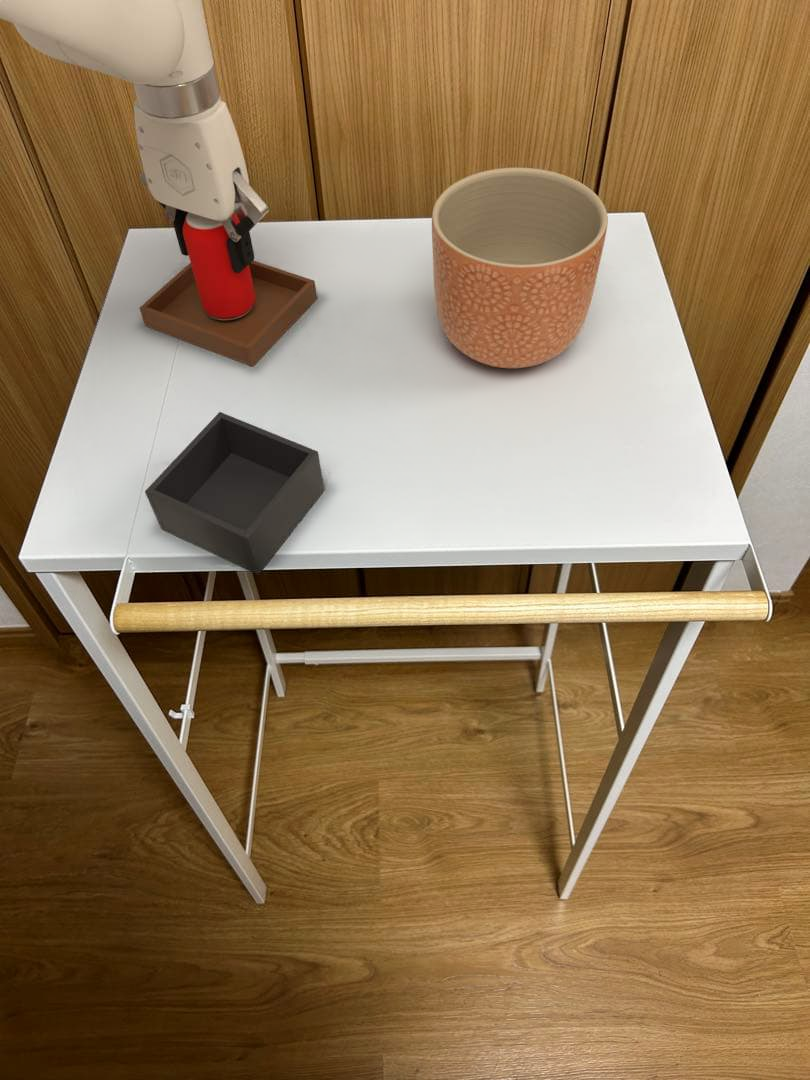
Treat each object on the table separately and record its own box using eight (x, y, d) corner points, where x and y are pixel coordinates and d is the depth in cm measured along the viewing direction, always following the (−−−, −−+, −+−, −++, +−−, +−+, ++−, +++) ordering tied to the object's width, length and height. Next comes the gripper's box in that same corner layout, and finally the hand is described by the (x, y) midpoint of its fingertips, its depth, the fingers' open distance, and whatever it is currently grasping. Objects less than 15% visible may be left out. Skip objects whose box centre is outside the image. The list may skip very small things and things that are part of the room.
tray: (145, 326, 96) (138, 307, 94) (213, 264, 103) (209, 245, 101) (252, 366, 91) (248, 348, 89) (317, 299, 98) (314, 280, 96)
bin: (161, 529, 78) (144, 491, 74) (231, 451, 84) (219, 411, 79) (258, 575, 75) (247, 538, 70) (324, 490, 81) (318, 451, 76)
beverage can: (195, 320, 95) (168, 226, 86) (217, 288, 99) (194, 194, 89) (244, 329, 94) (223, 234, 85) (265, 296, 98) (246, 201, 88)
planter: (582, 291, 97) (603, 167, 85) (589, 393, 87) (613, 269, 75) (437, 287, 99) (437, 165, 86) (427, 387, 89) (425, 264, 76)
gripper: (78, 86, 77) (135, 254, 92) (229, 127, 72) (263, 299, 86) (131, 53, 81) (177, 219, 96) (277, 89, 76) (303, 260, 90)
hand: (218, 256), depth 91 cm, fingers closed on beverage can, 6 cm apart
